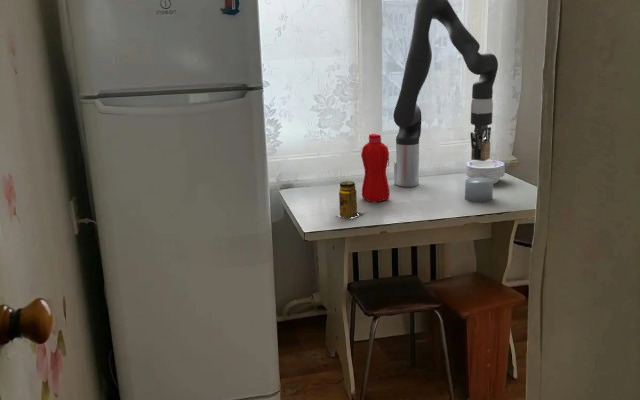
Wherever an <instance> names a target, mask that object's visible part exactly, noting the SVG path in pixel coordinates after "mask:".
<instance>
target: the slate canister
mask: <svg viewBox="0 0 640 400" xmlns="http://www.w3.org/2000/svg"><path fill="white" fill-rule="evenodd" d="M464 186H465V187H464V200H465V201H468V202H470V203H471V202H472V203H476V204H478V203H479V204H480V203H481V204H482V203H489V202H491V201H493V196H494V184H493V180H491V179H488V178H480V177H476V178H470V177H468V178H467V179H465V183H464Z"/></svg>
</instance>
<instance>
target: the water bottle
mask: <svg viewBox="0 0 640 400" xmlns="http://www.w3.org/2000/svg"><path fill="white" fill-rule="evenodd" d="M360 155H361V161H362V164H363V168H364V176H363V182H362V186H361V187H362V189H361V197H362V199H364V200H366V201H369V202H370V203H378V202H382V201H387V200H389V198H390V186H389V182H388V176H387V167H388V166H390V157H389V156H390V152H389V148H388V146H387V145H385V143H383V142H382V136H381V134H377V133H371V134H368V142H367V143H365V145H364V146H362V150H361V154H360Z"/></svg>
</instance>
